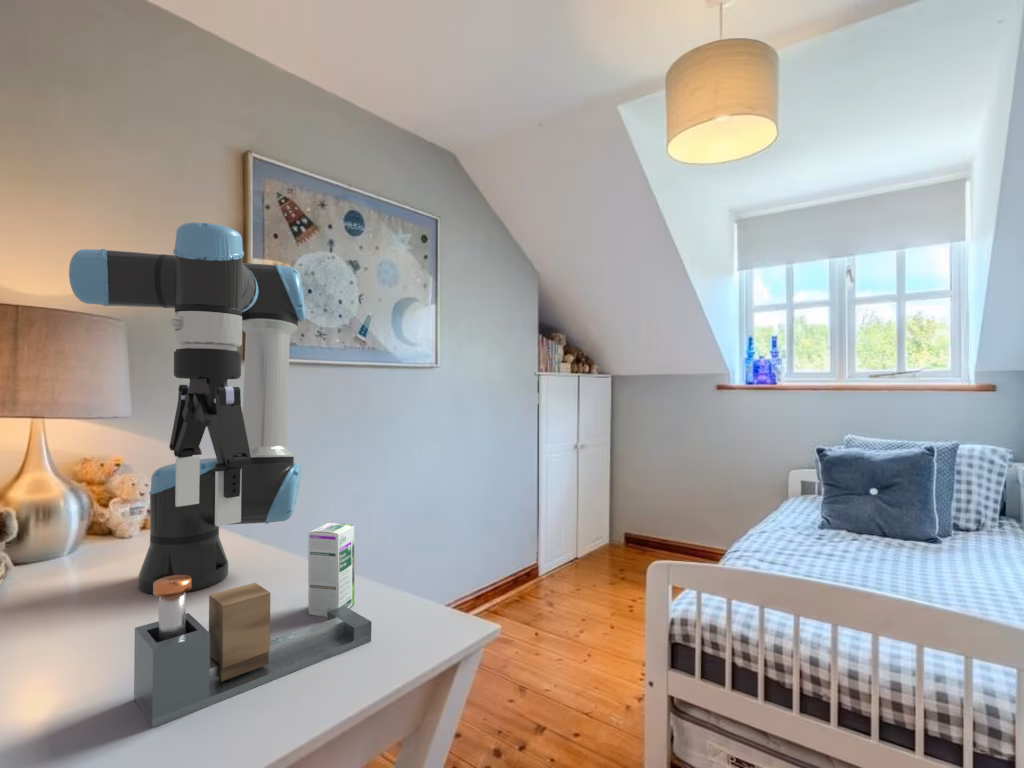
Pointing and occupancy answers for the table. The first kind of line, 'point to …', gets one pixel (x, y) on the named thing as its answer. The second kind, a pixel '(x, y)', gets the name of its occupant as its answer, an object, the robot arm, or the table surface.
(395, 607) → the table surface
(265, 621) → the block
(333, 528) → the syrup box
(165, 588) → the plunger
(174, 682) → the rail
